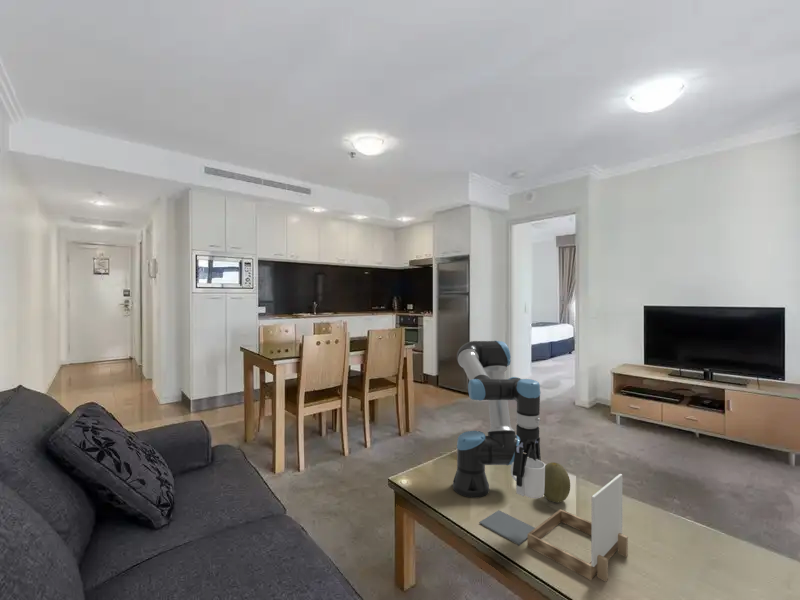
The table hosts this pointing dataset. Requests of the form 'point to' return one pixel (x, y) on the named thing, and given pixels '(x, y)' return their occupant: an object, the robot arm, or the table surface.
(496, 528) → the mat
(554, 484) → the fruit
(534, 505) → the table surface
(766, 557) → the table surface
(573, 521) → the frame
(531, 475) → the cup
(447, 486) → the table surface
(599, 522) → the lid
